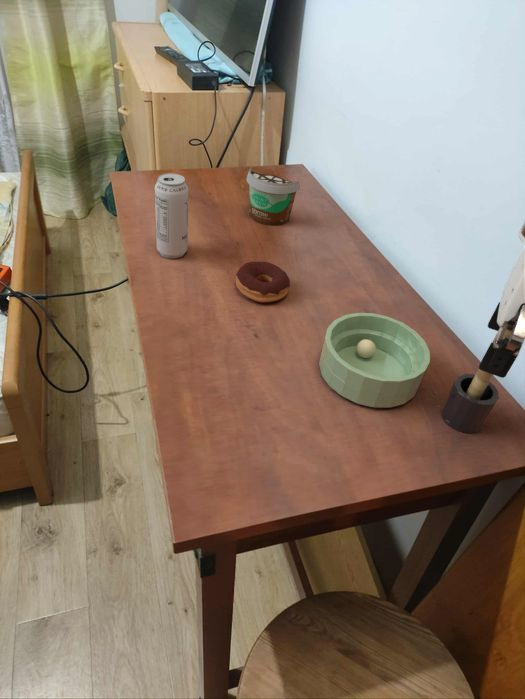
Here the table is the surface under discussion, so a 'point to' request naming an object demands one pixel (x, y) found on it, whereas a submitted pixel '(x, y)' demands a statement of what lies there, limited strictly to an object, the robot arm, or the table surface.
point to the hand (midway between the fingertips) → (495, 350)
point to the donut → (260, 291)
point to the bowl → (374, 360)
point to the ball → (366, 348)
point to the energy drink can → (171, 215)
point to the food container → (271, 198)
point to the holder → (468, 405)
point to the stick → (482, 378)
